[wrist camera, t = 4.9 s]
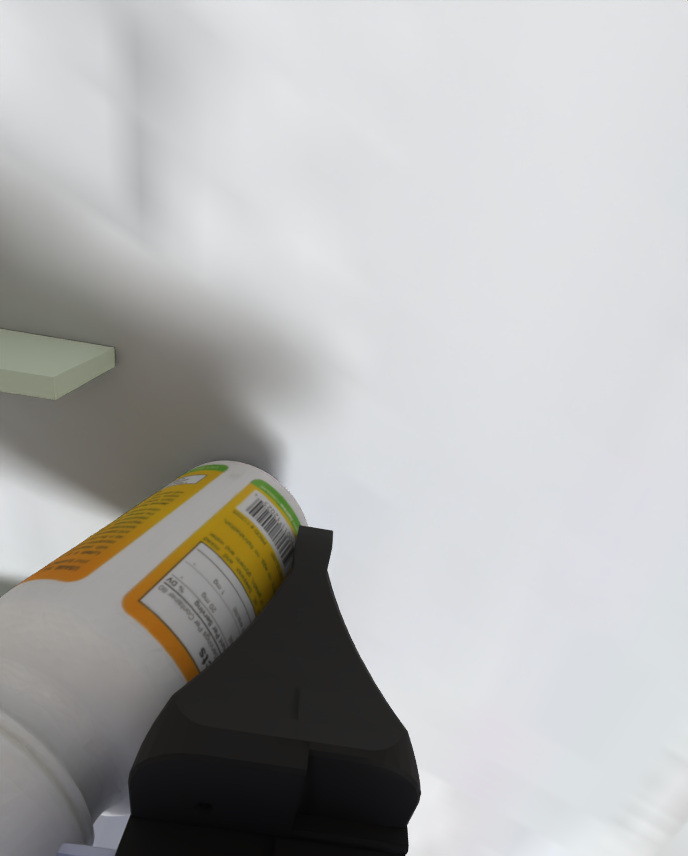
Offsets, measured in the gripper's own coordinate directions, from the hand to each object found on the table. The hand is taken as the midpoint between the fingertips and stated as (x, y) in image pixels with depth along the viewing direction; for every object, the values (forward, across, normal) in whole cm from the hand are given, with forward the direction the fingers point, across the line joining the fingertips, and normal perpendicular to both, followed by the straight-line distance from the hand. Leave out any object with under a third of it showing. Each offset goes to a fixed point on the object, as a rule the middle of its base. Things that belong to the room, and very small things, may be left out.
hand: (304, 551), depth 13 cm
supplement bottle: (+2, +2, +1) cm, 3 cm away
